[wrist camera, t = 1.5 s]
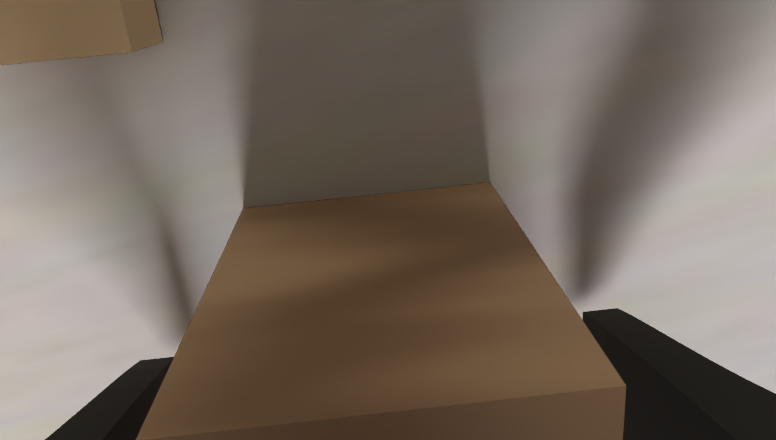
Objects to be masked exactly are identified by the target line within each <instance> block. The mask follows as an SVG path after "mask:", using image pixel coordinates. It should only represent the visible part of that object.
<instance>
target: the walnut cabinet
mask: <svg viewBox="0 0 776 440" xmlns="http://www.w3.org/2000/svg"><path fill="white" fill-rule="evenodd" d="M625 398H626V385H625V383H624V382H623V380H622V379H621V377H620V376H619V374H618V373H617V371H616V370H615V368H614V367H613V365H612V364H611V362H610V361H609V359H608V358H607V356H606V355H605V353H604V352H603V350H602V349H601V347H600V346H599V344H598V343H597V341H596V340H595V338H594V337H593V335H592V334H591V332H590V331H589V329H588V328H587V326H586V325H585V323H584V322H583V320H582V319H581V317H580V316H579V314H578V313H577V311H576V310H575V308H574V307H573V305H572V304H571V302H570V301H569V299H568V298H567V296H566V295H565V293H564V292H563V290H562V289H561V287H560V286H559V284H558V283H557V281H556V280H555V278H554V277H553V275H552V274H551V272H550V271H549V269H548V268H547V266H546V265H545V263H544V262H543V260H542V259H541V258H540V256H539V255H538V253H537V252H536V250H535V249H534V247H533V246H532V244H531V243H530V241H529V240H528V238H527V237H526V235H525V234H524V232H523V231H522V229H521V228H520V226H519V225H518V223H517V222H516V220H515V219H514V217H513V216H512V214H511V213H510V211H509V210H508V208H507V207H506V205H505V204H504V202H503V201H502V199H501V198H500V196H499V195H498V193H497V192H496V190H495V189H494V187H493V186H492V184H491V183H490V182H488V183H479V184H469V185H460V186H450V187H441V188H431V189H422V190H412V191H403V192H393V193H384V194H374V195H365V196H355V197H346V198H336V199H327V200H317V201H308V202H298V203H289V204H279V205H270V206H260V207H251V208H243V210H242V212H241V214H240V216H239V218H238V221H237V223H236V225H235V227H234V229H233V231H232V234H231V236H230V238H229V240H228V242H227V244H226V246H225V249H224V251H223V253H222V255H221V257H220V259H219V262H218V264H217V266H216V268H215V270H214V272H213V274H212V277H211V279H210V281H209V283H208V285H207V287H206V290H205V292H204V294H203V296H202V298H201V300H200V302H199V305H198V307H197V309H196V311H195V313H194V315H193V318H192V320H191V322H190V324H189V326H188V328H187V330H186V333H185V335H184V337H183V339H182V341H181V343H180V346H179V348H178V350H177V352H176V354H175V356H174V358H173V361H172V363H171V365H170V367H169V369H168V371H167V374H166V376H165V378H164V380H163V382H162V384H161V386H160V389H159V391H158V393H157V395H156V397H155V399H154V402H153V404H152V406H151V408H150V410H149V412H148V414H147V417H146V419H145V421H144V423H143V425H142V427H141V430H140V432H139V434H138V436H137V438H136V440H623V428H624V413H625Z"/></svg>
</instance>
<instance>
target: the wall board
mask: <svg viewBox="0 0 776 440" xmlns="http://www.w3.org/2000/svg"><path fill="white" fill-rule="evenodd" d="M162 41H163V39H162V35H161V30H160V26H159V21H158V17H157V12H156V8H155V3H154V0H0V65H9V64H19V63H28V62H38V61H48V60H58V59H68V58H78V57H88V56H98V55H108V54H118V53H128V52H134V51H137V50H139V49H142V48H145V47H148V46H151V45H154V44H157V43H160V42H162Z"/></svg>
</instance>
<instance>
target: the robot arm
mask: <svg viewBox="0 0 776 440" xmlns="http://www.w3.org/2000/svg"><path fill="white" fill-rule="evenodd" d="M583 322H584V323H585V325H586V326H587V328H588V329H589V331H590V332H591V334H592V335H593V337H594V338H595V340H596V341H597V343H598V344H599V346H600V347H601V349H602V350H603V352H604V353H605V355H606V356H607V358H608V359H609V361H610V362H611V364H612V365H613V367H614V368H615V370H616V371H617V373H618V374H619V376H620V377H621V379H622V380H623V382H624V383H625V385H626V398H625V413H624V428H623V440H776V394H775V393H773V392H771V391H769V390H767V389H765V388H763V387H761V386H758V385H756V384H754V383H752V382H750V381H748V380H746V379H744V378H743V377H741V376H739V375H737V374H735V373H733V372H731V371H729V370H727V369H725V368H724V367H722V366H720V365H718V364H716V363H714V362H713V361H711V360H709V359H707V358H705V357H704V356H702V355H700V354H698V353H696V352H695V351H693V350H691V349H689V348H688V347H686V346H684V345H682V344H681V343H679V342H677V341H675V340H674V339H672V338H670V337H668V336H667V335H665V334H663V333H662V332H660V331H658V330H656V329H655V328H653V327H651V326H649V325H648V324H646V323H644V322H642V321H641V320H639V319H637V318H635V317H633V316H632V315H630V314H628V313H626V312H624V311H622V310H620V309H618V308H616V309H607V310H598V311H589V312H583ZM173 358H174V357H169V358H160V359H151V360H141V361H139V362H138V363H136V364H135V365H134V366H132V367H131V368H130V369H128V370H127V371H126V372H125V373H123V374H122V375H121V376H120V377H119V378H117V379H116V380H115V381H114V382H113V383H111V384H110V385H109V386H108V387H107V388H106V389H104V390H103V391H102V392H101V393H100V394H99V395H97V396H96V397H95V398H94V399H93V400H92V401H90V402H89V403H88V404H87V405H86V406H85V407H83V408H82V409H81V410H80V411H79V412H77V413H76V414H75V415H74V416H73V417H72V418H70V419H69V420H68V421H67V422H66V423H64V424H63V425H62V426H61V427H60V428H59V429H57V430H56V431H55V432H54V433H53V434H51V435H50V436H49V437H48V438H47V439H45V440H136V438H137V436H138V434H139V432H140V430H141V427H142V425H143V423H144V421H145V419H146V417H147V414H148V412H149V410H150V408H151V406H152V404H153V402H154V399H155V397H156V395H157V393H158V391H159V389H160V386H161V384H162V382H163V380H164V378H165V376H166V374H167V371H168V369H169V367H170V365H171V363H172V361H173Z"/></svg>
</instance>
